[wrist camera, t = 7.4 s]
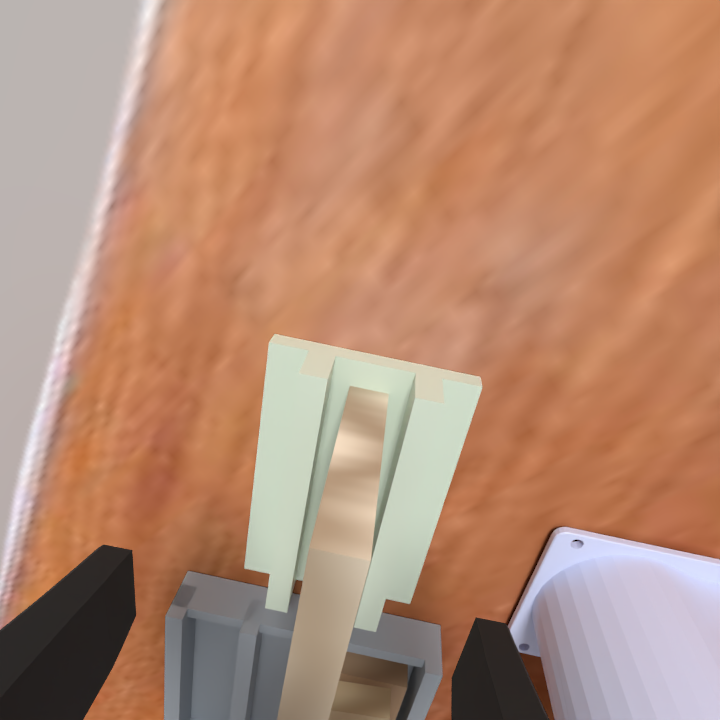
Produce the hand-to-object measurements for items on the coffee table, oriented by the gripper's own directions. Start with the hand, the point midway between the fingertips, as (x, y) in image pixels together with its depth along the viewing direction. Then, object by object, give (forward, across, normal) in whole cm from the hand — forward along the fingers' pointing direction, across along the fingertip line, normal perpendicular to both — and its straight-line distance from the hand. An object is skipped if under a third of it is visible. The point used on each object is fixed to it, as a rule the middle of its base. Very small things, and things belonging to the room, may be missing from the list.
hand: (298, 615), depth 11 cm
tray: (+10, 0, +19) cm, 21 cm away
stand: (+10, -1, +5) cm, 12 cm away
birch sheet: (+10, -1, +5) cm, 11 cm away
